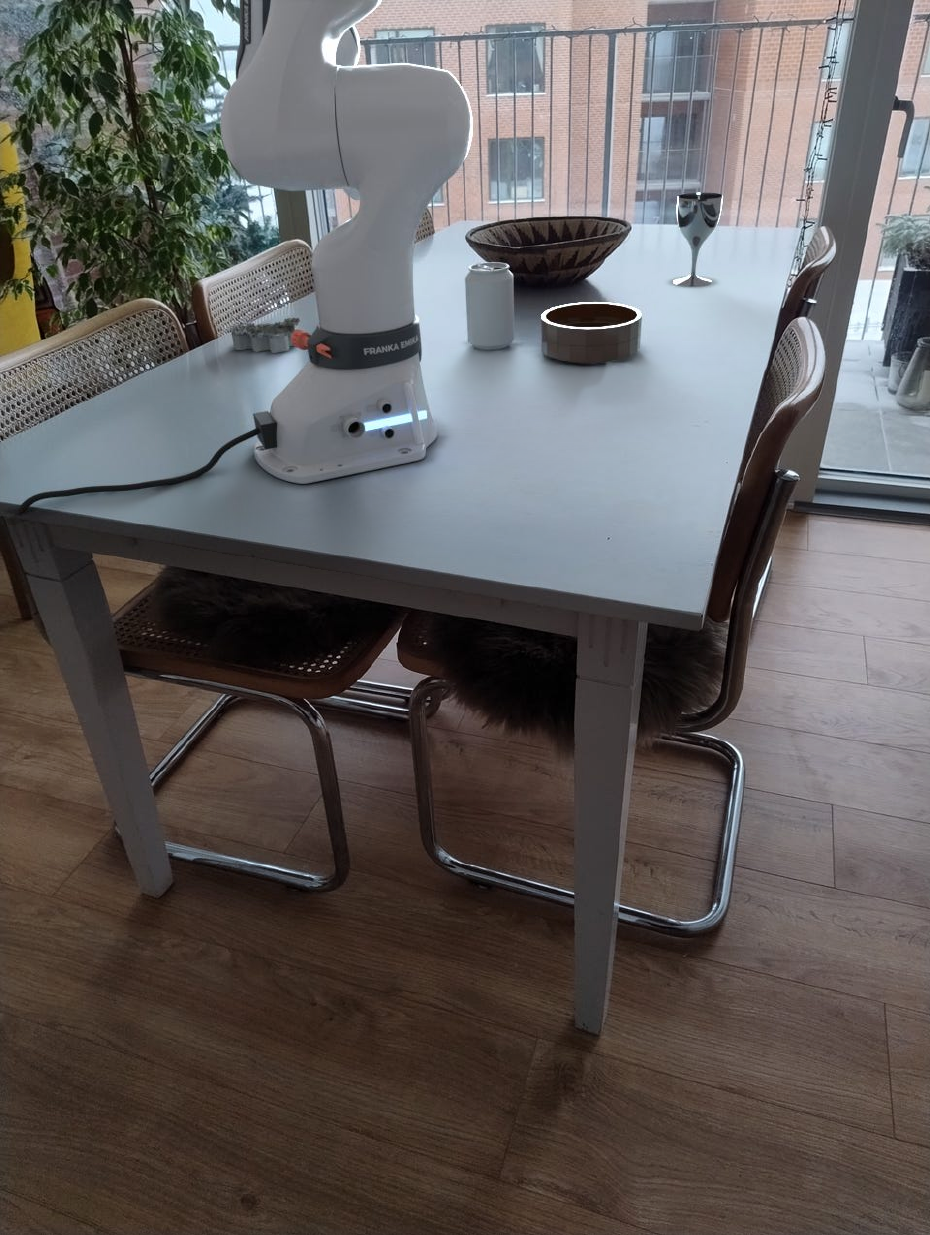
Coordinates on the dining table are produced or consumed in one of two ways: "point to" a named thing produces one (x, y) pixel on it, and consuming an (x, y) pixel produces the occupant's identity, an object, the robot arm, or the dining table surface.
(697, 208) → the silver goblet
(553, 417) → the dining table surface
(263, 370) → the dining table surface
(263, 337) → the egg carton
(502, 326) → the can
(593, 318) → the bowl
